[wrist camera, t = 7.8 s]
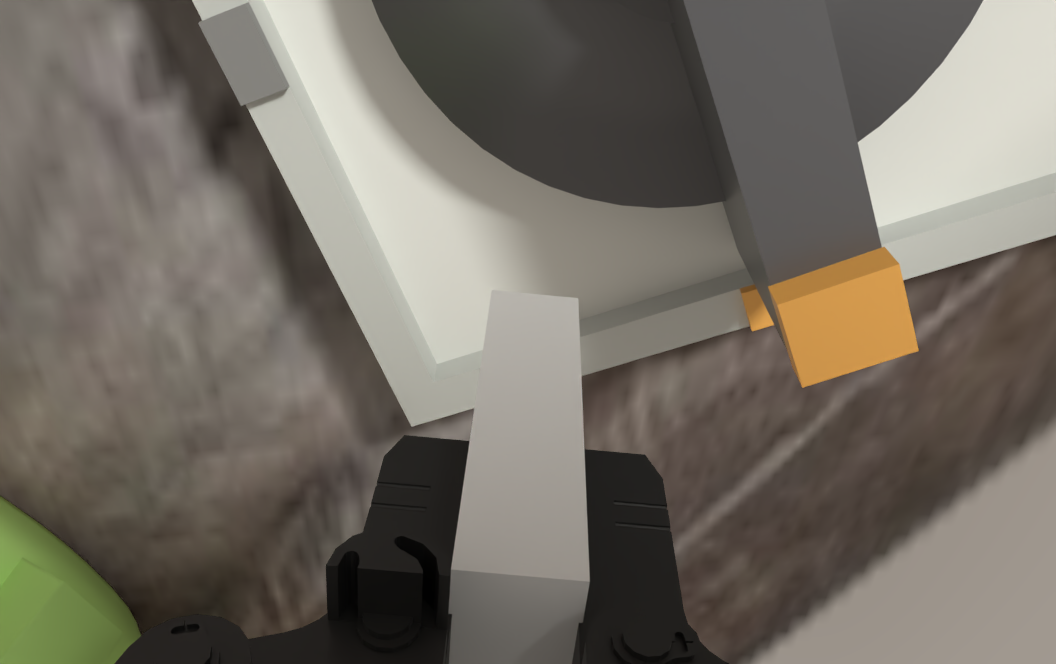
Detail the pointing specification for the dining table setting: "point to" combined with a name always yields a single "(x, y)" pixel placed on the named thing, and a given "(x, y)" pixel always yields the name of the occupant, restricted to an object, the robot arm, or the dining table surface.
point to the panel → (588, 225)
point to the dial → (707, 128)
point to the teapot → (55, 600)
